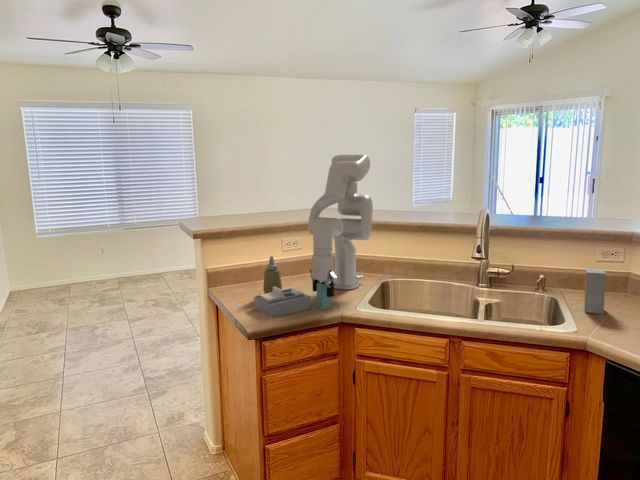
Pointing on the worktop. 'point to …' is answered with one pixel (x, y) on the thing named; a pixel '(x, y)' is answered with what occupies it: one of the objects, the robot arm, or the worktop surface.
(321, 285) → the teal rectangular bottle
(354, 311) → the worktop surface
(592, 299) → the skincare box
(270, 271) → the squeeze bottle
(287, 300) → the grey flat box
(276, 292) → the shutter
